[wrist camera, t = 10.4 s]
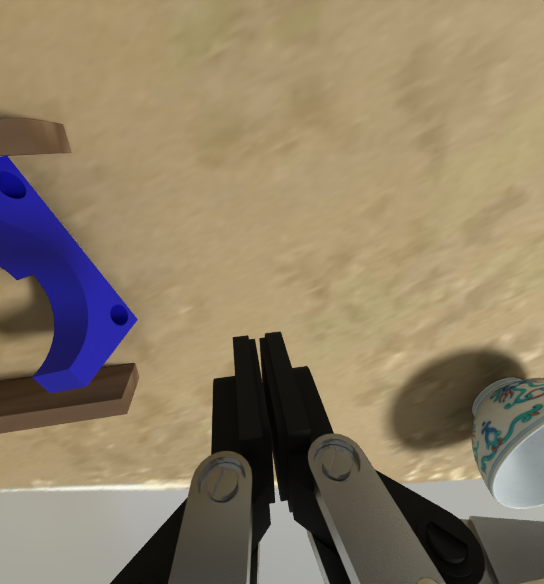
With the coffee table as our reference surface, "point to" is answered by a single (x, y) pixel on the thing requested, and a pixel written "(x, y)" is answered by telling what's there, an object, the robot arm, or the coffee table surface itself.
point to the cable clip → (60, 285)
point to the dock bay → (27, 392)
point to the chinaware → (511, 441)
